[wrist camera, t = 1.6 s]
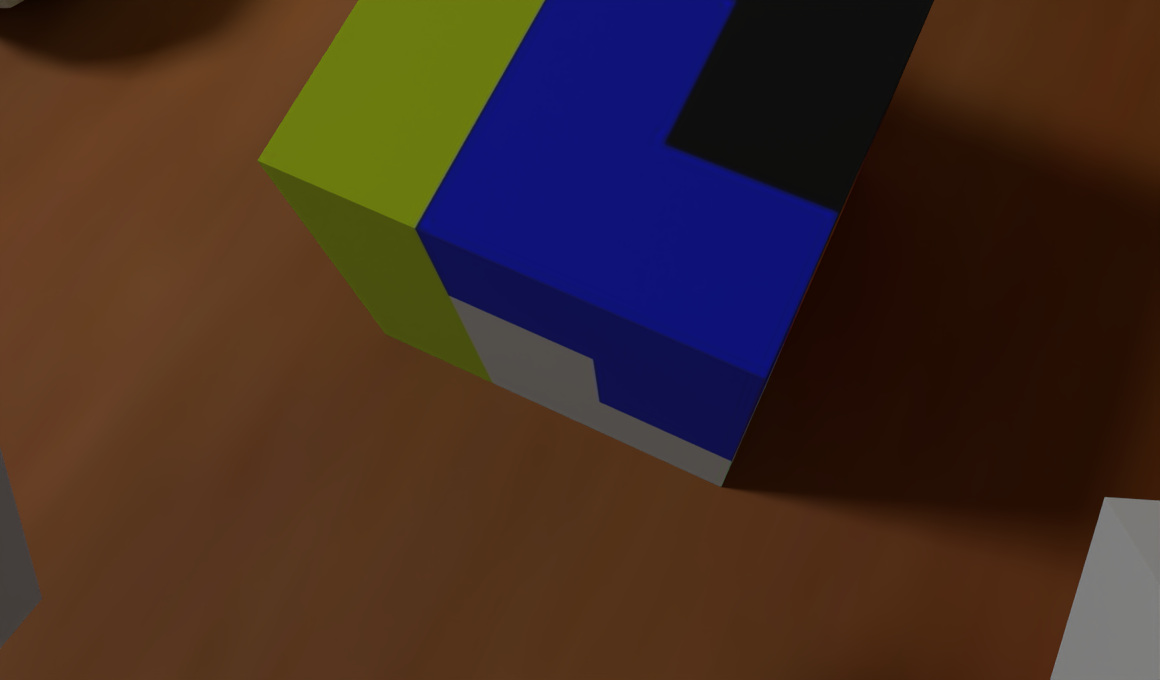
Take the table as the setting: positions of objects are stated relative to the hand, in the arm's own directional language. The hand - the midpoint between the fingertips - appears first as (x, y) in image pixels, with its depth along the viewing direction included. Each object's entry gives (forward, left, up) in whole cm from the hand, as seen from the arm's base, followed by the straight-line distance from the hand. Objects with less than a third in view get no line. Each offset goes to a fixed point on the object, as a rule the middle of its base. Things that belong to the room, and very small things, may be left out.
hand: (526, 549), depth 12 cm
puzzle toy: (-5, -8, -14) cm, 17 cm away
